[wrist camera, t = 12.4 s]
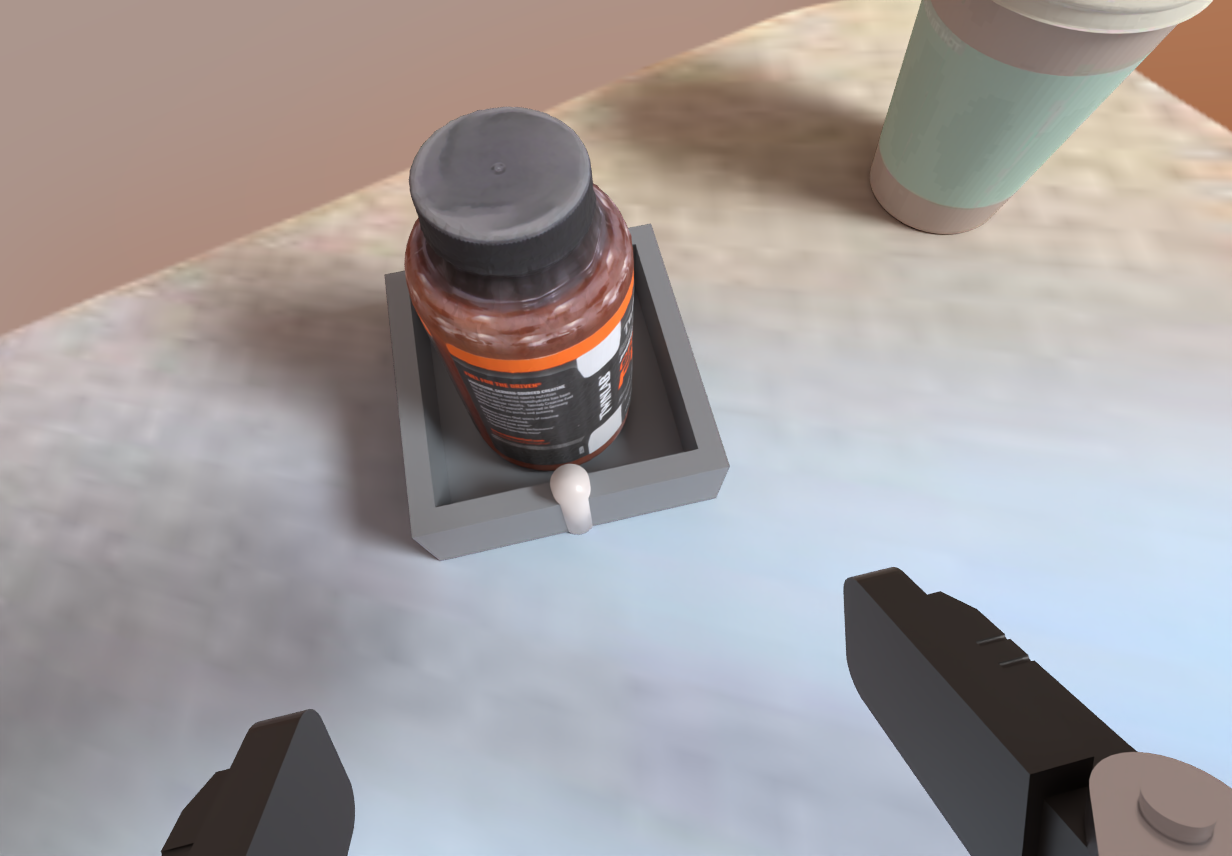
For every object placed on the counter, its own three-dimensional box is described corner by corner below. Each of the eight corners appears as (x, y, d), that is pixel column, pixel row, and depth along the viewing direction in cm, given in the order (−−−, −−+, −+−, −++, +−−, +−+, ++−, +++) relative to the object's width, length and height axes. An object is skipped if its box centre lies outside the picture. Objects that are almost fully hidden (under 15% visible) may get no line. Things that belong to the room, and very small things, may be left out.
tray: (441, 566, 22) (405, 538, 19) (411, 320, 27) (377, 258, 23) (717, 503, 23) (735, 464, 20) (646, 273, 27) (650, 206, 24)
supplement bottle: (656, 444, 23) (682, 232, 13) (499, 500, 23) (393, 321, 12) (600, 315, 26) (583, 47, 15) (456, 362, 25) (335, 113, 14)
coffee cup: (1044, 149, 30) (1287, -175, 19) (1011, 286, 27) (1278, -6, 16) (866, 98, 32) (996, -229, 21) (815, 222, 28) (935, -85, 17)
